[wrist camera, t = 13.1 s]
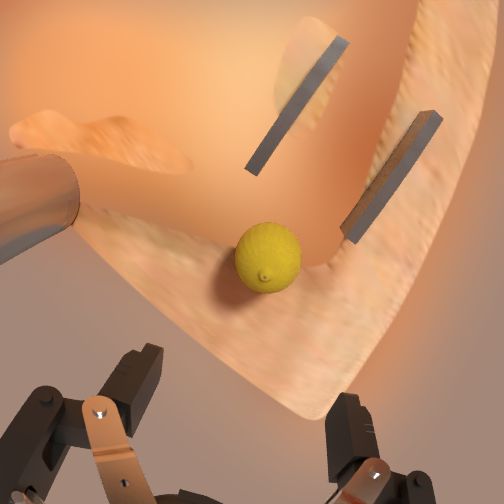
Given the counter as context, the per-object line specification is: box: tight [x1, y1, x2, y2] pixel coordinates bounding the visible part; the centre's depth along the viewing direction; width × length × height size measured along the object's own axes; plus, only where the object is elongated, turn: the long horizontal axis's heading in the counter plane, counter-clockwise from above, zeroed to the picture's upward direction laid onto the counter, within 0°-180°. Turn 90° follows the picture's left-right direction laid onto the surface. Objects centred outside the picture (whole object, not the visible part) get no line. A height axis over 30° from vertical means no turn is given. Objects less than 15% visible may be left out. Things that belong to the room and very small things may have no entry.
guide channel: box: [245, 35, 443, 245], centre depth 25 cm, size 11×14×3 cm
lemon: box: [235, 222, 302, 294], centre depth 26 cm, size 6×6×8 cm
